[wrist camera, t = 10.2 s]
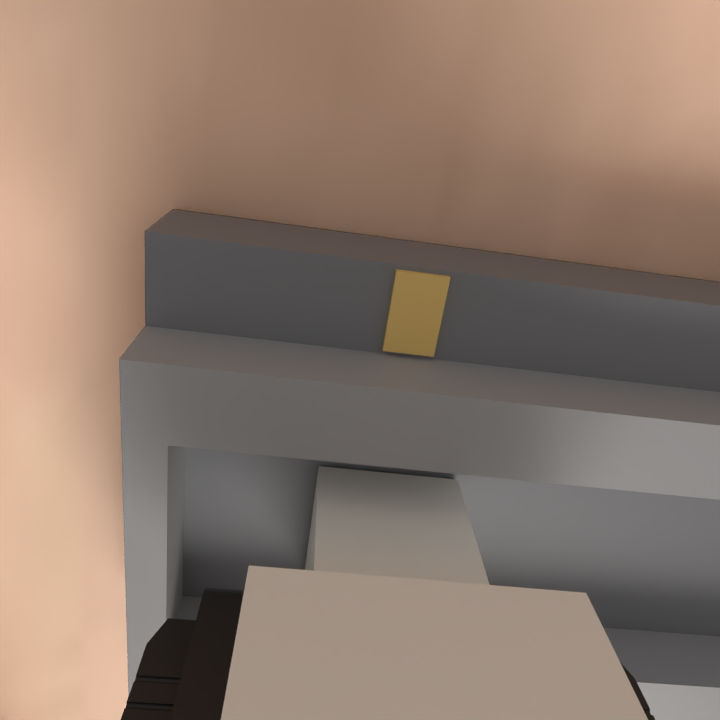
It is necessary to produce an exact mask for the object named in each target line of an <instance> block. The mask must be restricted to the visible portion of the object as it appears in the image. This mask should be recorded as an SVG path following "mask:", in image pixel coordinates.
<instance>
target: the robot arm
mask: <svg viewBox="0 0 720 720" xmlns="http://www.w3.org/2000/svg"><path fill="white" fill-rule="evenodd" d="M243 594H244V590H233V589H220V588H207V587H206V588H205V589H204V592H203V595H202V599H201V603H200V606H199V610H198V614H197V618H196V620H185V619H172V618H168V619H167V620H166V621H165V623H164V624H163V625H162V626H161V627H160V629H159V630H158V631H157V632H156V633H155V634H154V636H153V637H152V638H151V639H150V640H149V642H148V643H147V644H146V647H145V650H144V653H143V656H142V659H141V662H140V665H139V668H138V671H137V673H136V678H135V681H134V682H133V685H132V688H131V691H130V694H129V697H128V700H127V705H126V708H125V709H124V712H123V715H122V718H121V720H221V715H222V710H223V704H224V699H225V693H226V688H227V682H228V677H229V671H230V666H231V660H232V655H233V649H234V644H235V638H236V633H237V627H238V622H239V616H240V611H241V605H242V600H243ZM620 663H621V662H620ZM621 665H622V663H621ZM622 667H623V669H624V671H625V673H626V675H627V677H628V679H629V681H630V684H631V686H632V688H633V690H634V692H635V694H636V696H637V698H638V700H639V702H640V704H641V706H642V708H643V710H644V712H645V714H646V716H647V718H648V720H655V718H654V716H653V715H651V714H650V708H649V706H648V704H647V702H646V700H645V698H644V696H643V694H642V692H641V690H640V688H639V686H638V684H637V682H636V680H635V678H634V677H633V676H632V675H631V674H630V672H629V671H628V670H627V669H626V668H625V667H624V666H623V665H622Z"/></svg>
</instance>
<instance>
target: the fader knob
mask: <svg viewBox="0 0 720 720" xmlns="http://www.w3.org/2000/svg"><path fill="white" fill-rule="evenodd" d="M221 720H648V718H647V716H646V714H645V712H644V710H643V708H642V706H641V704H640V702H639V700H638V698H637V696H636V694H635V692H634V690H633V688H632V686H631V684H630V681H629V679H628V677H627V675H626V673H625V671H624V669H623V667H622V665H621V663H620V661H619V659H618V657H617V655H616V653H615V651H614V649H613V647H612V645H611V643H610V641H609V639H608V636H607V634H606V632H605V630H604V628H603V626H602V624H601V622H600V620H599V618H598V616H597V614H596V612H595V610H594V608H593V606H592V604H591V602H590V600H589V598H588V596H587V594H586V593H583V592H571V591H559V590H546V589H534V588H521V587H509V586H497V585H490V584H489V581H488V578H487V574H486V571H485V568H484V565H483V561H482V558H481V555H480V552H479V548H478V545H477V542H476V538H475V535H474V532H473V529H472V525H471V522H470V519H469V515H468V512H467V509H466V506H465V502H464V499H463V496H462V492H461V489H460V486H459V483H458V480H456V479H446V478H436V477H426V476H415V475H405V474H395V473H384V472H374V471H364V470H354V469H343V468H333V467H323V466H319V468H318V475H317V483H316V490H315V497H314V505H313V512H312V519H311V527H310V534H309V541H308V549H307V556H306V563H305V570H299V569H287V568H275V567H262V566H250V565H249V567H248V572H247V578H246V583H245V589H244V594H243V600H242V605H241V611H240V616H239V622H238V627H237V633H236V638H235V644H234V649H233V655H232V660H231V666H230V671H229V677H228V682H227V688H226V693H225V699H224V704H223V710H222V715H221Z"/></svg>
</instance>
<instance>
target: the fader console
mask: <svg viewBox="0 0 720 720" xmlns="http://www.w3.org/2000/svg"><path fill="white" fill-rule="evenodd" d="M145 320H146V326H145V327H144V328H143V330H142V331H141V332H140V334H139V335H138V336H137V337H136V339H135V340H134V341H133V343H132V344H131V345H130V346H129V348H128V349H127V350H126V351H125V353H124V354H123V355H122V357H121V358H120V359H119V367H120V403H121V439H122V474H123V510H124V546H125V581H126V617H127V653H128V688H129V694H130V691H131V688H132V685H133V682H134V681H135V678H136V673H137V671H138V668H139V665H140V662H141V659H142V656H143V653H144V650H145V647H146V644H147V643H148V642H149V640H150V639H151V638H152V637H153V636H154V634H155V633H156V632H157V631H158V630H159V629H160V627H161V626H162V625H163V624H164V623H165V621H166V620H167V619H168V618H172V619H185V620H196V618H197V614H198V610H199V606H200V603H201V599H202V595H203V592H204V589H205V588H206V587H207V588H220V589H233V590H244V589H245V583H246V578H247V572H248V567H249V565H250V566H262V567H275V568H287V569H299V570H305V563H306V556H307V549H308V541H309V534H310V527H311V519H312V512H313V505H314V497H315V490H316V483H317V475H318V468H319V466H323V467H333V468H343V469H354V470H364V471H374V472H384V473H395V474H405V475H415V476H426V477H436V478H446V479H456V480H458V483H459V486H460V489H461V492H462V496H463V499H464V502H465V506H466V509H467V512H468V515H469V519H470V522H471V525H472V529H473V532H474V535H475V538H476V542H477V545H478V548H479V552H480V555H481V558H482V561H483V565H484V568H485V571H486V574H487V578H488V581H489V584H490V585H497V586H509V587H521V588H534V589H546V590H559V591H571V592H583V593H586V594H587V596H588V598H589V600H590V602H591V604H592V606H593V608H594V610H595V612H596V614H597V616H598V618H599V620H600V622H601V624H602V626H603V628H604V630H605V632H606V634H607V636H608V639H609V641H610V643H611V645H612V647H613V649H614V651H615V653H616V655H617V657H618V659H619V661H620V662H621V663H622V665H623V666H624V667H625V668H626V669H627V670H628V671H629V672H630V674H631V675H632V676H633V677H634V678H635V680H636V682H637V684H638V686H639V688H640V690H641V692H642V694H643V696H644V698H645V700H646V702H647V704H648V706H649V708H650V714H651V715H653V716H654V718H655V720H720V282H714V281H707V280H699V279H692V278H684V277H677V276H669V275H662V274H654V273H647V272H639V271H632V270H624V269H617V268H609V267H602V266H594V265H587V264H579V263H572V262H564V261H557V260H549V259H542V258H535V257H527V256H520V255H512V254H505V253H497V252H490V251H482V250H475V249H467V248H460V247H452V246H445V245H437V244H430V243H422V242H415V241H407V240H400V239H392V238H385V237H377V236H370V235H362V234H355V233H347V232H340V231H332V230H325V229H317V228H310V227H303V226H295V225H288V224H280V223H273V222H265V221H258V220H250V219H243V218H235V217H228V216H220V215H213V214H205V213H198V212H190V211H183V210H175V209H173V210H171V211H170V212H169V213H168V214H166V215H165V216H164V217H162V218H161V219H160V220H159V221H157V222H156V223H155V224H153V225H152V226H151V227H150V228H148V229H147V230H146V231H145Z"/></svg>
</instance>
